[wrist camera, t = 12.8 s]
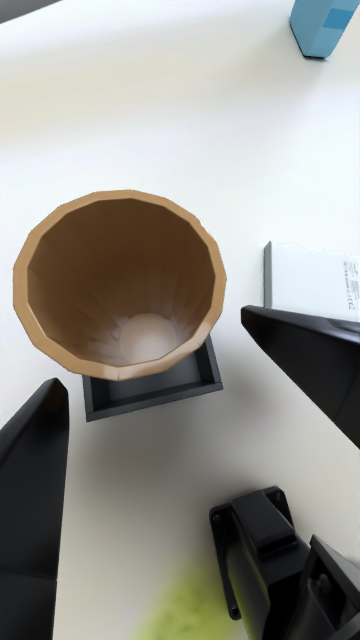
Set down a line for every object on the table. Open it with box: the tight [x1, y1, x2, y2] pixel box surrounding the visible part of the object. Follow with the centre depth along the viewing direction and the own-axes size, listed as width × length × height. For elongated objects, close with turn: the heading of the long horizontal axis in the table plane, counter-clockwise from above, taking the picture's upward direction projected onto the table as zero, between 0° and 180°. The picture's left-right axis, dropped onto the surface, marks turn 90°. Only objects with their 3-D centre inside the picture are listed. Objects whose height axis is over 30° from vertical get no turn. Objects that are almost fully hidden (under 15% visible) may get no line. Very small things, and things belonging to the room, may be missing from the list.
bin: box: [82, 333, 223, 422], centre depth 16 cm, size 10×9×5 cm
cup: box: [13, 190, 227, 381], centre depth 12 cm, size 6×6×13 cm
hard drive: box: [264, 241, 360, 322], centre depth 21 cm, size 2×8×12 cm
